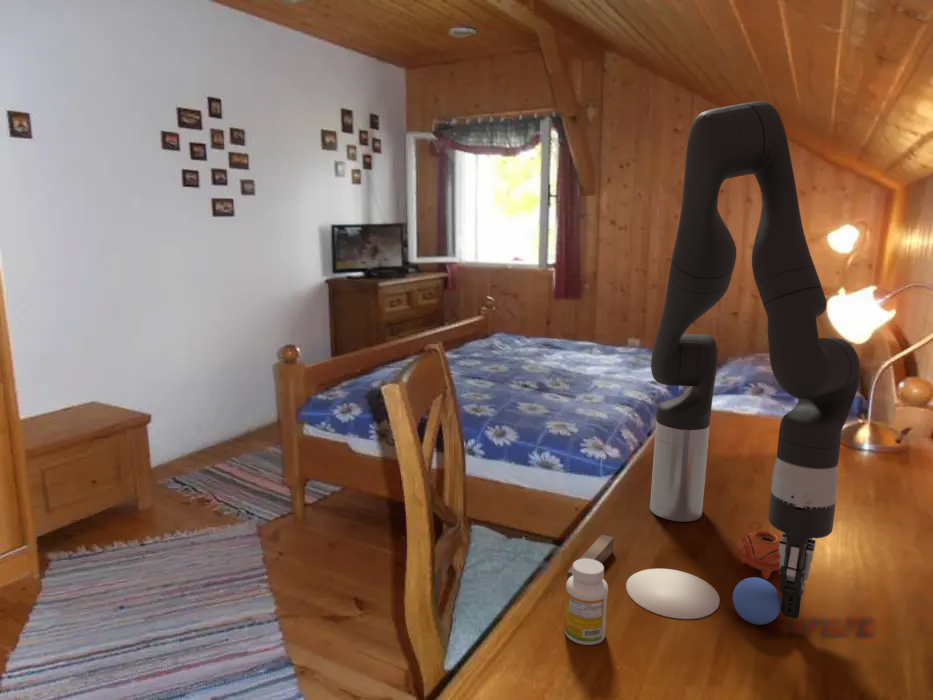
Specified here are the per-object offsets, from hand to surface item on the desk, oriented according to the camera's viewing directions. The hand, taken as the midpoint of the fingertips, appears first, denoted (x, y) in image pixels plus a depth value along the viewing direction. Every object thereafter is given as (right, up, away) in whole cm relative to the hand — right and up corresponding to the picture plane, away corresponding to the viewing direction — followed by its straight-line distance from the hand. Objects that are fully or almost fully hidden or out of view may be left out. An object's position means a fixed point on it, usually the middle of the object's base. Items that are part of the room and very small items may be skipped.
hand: (789, 614), depth 91 cm
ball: (-4, +1, +1) cm, 4 cm away
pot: (+3, +1, +15) cm, 15 cm away
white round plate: (-13, 0, +8) cm, 16 cm away
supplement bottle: (-28, -2, -1) cm, 28 cm away
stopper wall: (-24, +1, +15) cm, 28 cm away
